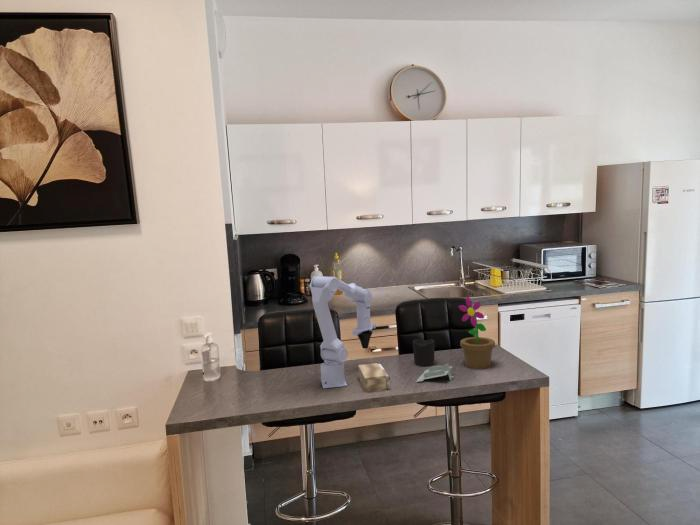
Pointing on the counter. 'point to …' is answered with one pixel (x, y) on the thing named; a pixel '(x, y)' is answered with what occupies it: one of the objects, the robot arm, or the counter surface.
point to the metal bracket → (436, 372)
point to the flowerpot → (476, 339)
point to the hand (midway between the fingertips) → (365, 348)
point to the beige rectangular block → (373, 377)
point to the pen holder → (423, 352)
